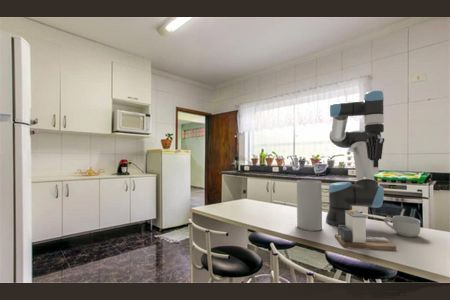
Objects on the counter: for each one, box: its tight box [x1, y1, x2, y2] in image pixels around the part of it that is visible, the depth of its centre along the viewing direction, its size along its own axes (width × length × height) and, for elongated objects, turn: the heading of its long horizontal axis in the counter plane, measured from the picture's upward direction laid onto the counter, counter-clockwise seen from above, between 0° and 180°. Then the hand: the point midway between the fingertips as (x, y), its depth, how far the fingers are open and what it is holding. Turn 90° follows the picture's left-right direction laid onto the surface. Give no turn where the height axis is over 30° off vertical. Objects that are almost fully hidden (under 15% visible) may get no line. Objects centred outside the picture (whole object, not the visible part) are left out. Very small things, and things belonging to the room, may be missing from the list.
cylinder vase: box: [296, 179, 323, 232], centre depth 121 cm, size 12×12×25 cm
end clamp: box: [337, 225, 352, 242], centre depth 100 cm, size 8×3×5 cm, turn 170°
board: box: [334, 233, 397, 251], centre depth 99 cm, size 12×20×2 cm, turn 80°
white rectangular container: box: [345, 210, 367, 243], centre depth 99 cm, size 9×5×12 cm, turn 170°
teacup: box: [384, 215, 421, 238], centre depth 110 cm, size 14×11×8 cm
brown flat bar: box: [339, 235, 390, 243], centre depth 99 cm, size 3×19×1 cm, turn 80°
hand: (374, 174), depth 106 cm, fingers closed
